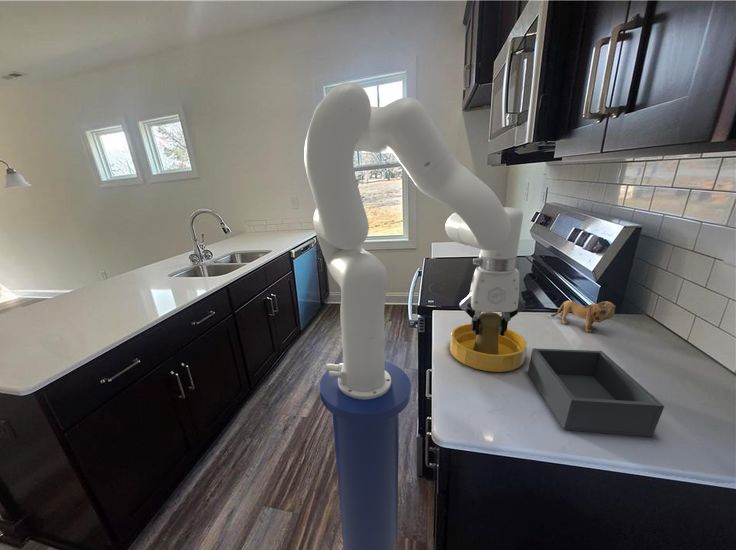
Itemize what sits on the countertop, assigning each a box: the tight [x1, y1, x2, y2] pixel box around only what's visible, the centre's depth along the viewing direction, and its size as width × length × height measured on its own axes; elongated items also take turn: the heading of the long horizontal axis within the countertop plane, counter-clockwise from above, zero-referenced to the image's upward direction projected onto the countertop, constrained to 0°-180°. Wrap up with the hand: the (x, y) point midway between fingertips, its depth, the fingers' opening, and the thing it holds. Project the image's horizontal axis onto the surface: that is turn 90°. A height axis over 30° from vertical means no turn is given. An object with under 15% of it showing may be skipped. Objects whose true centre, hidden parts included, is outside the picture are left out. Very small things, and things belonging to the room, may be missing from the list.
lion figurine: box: [550, 300, 616, 333], centre depth 91 cm, size 15×5×9 cm, turn 35°
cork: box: [473, 312, 502, 355], centre depth 80 cm, size 6×6×11 cm
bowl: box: [449, 323, 528, 373], centre depth 81 cm, size 17×17×4 cm
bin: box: [527, 347, 665, 438], centre depth 62 cm, size 14×18×7 cm
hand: (488, 332), depth 80 cm, fingers closed on cork, 5 cm apart
